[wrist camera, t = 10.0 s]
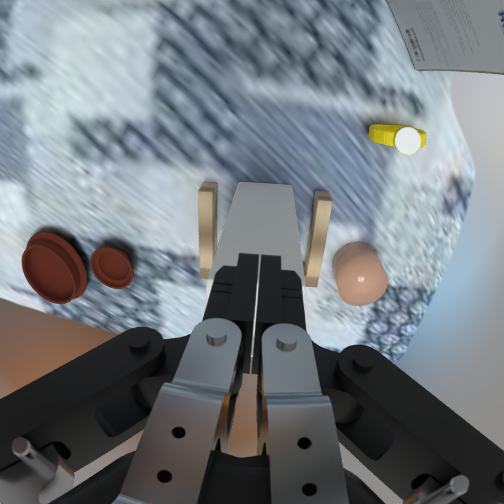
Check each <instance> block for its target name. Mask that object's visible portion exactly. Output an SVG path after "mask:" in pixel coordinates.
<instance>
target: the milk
mask: <svg viewBox="0 0 504 504" xmlns="http://www.w3.org/2000/svg"><path fill="white" fill-rule="evenodd" d="M239 253H249V254H259V266H258V280H257V294H256V306H255V317H254V328H253V339H252V351H251V357H253V349H254V336H255V323H256V311H257V299H258V287H259V274H260V262H261V254H264V255H277V256H281V270H294V271H295V272H296V273H297V274H298V276H299V277H300V278H301V281H302V291H303V301H305V289H306V287H305V278H304V270H303V261H302V254H301V246H300V238H299V231H298V223H297V216H296V209H295V202H294V195H293V188H292V185H285V184H271V183H255V182H239V183H238V185H237V188H236V191H235V194H234V197H233V200H232V204H231V207H230V210H229V213H228V216H227V219H226V222H225V225H224V228H223V231H222V234H221V237H220V241H219V244H218V247H217V250H216V253H215V256H214V260H213V263H212V266H211V269H210V272H209V276H208V279H207V289H206V306H207V302H208V298H209V295H210V292H211V288H212V284H213V280H214V277H215V273H216V272H217V271H218V270H219V269H220V268H221V267H222V266H223V265H226V266H237V262H238V256H239ZM205 310H206V308H205Z"/></svg>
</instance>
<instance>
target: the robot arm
mask: <svg viewBox="0 0 504 504" xmlns="http://www.w3.org/2000/svg"><path fill="white" fill-rule="evenodd" d="M258 266H259V254H249V253H239V256H238V262H237V266H226V265H223V266H222V267H221V268H220V269H219V270H218V271H217V272H216V273H215V277H214V280H213V284H212V288H211V292H210V295H209V298H208V302H207V306H206V310H205V313H204V317H203V321H202V322H200V323H199V324H197V325H196V326H195V327H194V329H193V331H192V333H191V334H189V335H187V336H183V337H179V338H172V339H163V337H162V336H161V334H160V333H159V332H157V331H156V330H154V329H152V328H148V327H135V328H132V329H129V330H127V331H125V332H123V333H121V334H119V335H118V336H116V337H114V338H112V339H110V340H109V341H107V342H105V343H103V344H101V345H99V346H97V347H96V348H94V349H92V350H90V351H88V352H86V353H85V354H83V355H81V356H79V357H77V358H75V359H74V360H72V361H70V362H68V363H66V364H65V365H63V366H61V367H59V368H57V369H55V370H53V371H52V372H50V373H48V374H46V375H44V376H42V377H40V378H39V379H37V380H35V381H33V382H31V383H30V384H27V385H26V386H24V387H22V388H20V389H18V390H16V391H14V392H13V393H11V394H9V395H7V396H5V397H3V398H1V399H0V502H1V504H385V503H384V502H383V501H382V500H381V499H380V498H379V497H378V496H377V495H376V494H375V493H374V492H373V491H372V490H371V489H370V488H369V487H368V486H367V485H366V484H365V483H364V482H363V481H362V480H361V479H359V478H358V477H357V476H356V475H354V474H353V473H352V472H350V471H348V470H346V469H345V468H343V464H342V458H341V452H340V447H339V442H340V443H341V444H342V445H343V446H344V447H345V448H346V449H347V450H349V451H350V452H351V453H352V454H353V455H354V456H355V457H356V458H357V459H358V460H359V461H360V462H361V463H362V464H363V465H365V466H366V467H367V468H368V469H369V470H370V471H371V472H372V473H373V474H374V475H375V476H376V477H378V478H379V479H380V480H381V481H382V482H383V483H384V484H385V485H386V486H388V487H389V488H390V489H391V490H392V491H393V492H394V493H395V494H397V495H398V496H399V497H400V498H401V499H402V500H403V504H504V451H503V450H502V449H500V448H499V447H498V446H497V445H495V444H494V443H493V442H492V441H490V440H489V439H488V438H487V437H485V436H484V435H483V434H481V433H480V432H479V431H478V430H476V429H475V428H474V427H473V426H471V425H470V424H469V423H468V422H466V421H465V420H464V419H463V418H461V417H460V416H459V415H458V414H456V413H455V412H454V411H453V410H451V409H450V408H449V407H447V406H446V405H445V404H444V403H442V402H441V401H440V400H439V399H437V398H436V397H435V396H434V395H432V394H431V393H430V392H429V391H427V390H426V389H425V388H424V387H422V386H421V385H420V384H418V383H417V382H416V381H415V380H413V379H412V378H411V377H410V376H408V375H407V374H406V373H405V372H403V371H402V370H400V368H398V367H397V366H396V365H395V364H393V363H392V362H391V361H390V360H388V359H387V358H386V357H384V356H383V355H382V354H381V353H379V352H378V351H377V350H375V349H373V348H371V347H369V346H365V345H351V346H348V347H346V348H345V349H344V350H342V352H341V353H338V352H335V351H331V350H328V349H325V348H322V347H320V346H319V345H317V344H316V343H314V342H313V341H312V340H311V338H310V336H309V334H308V333H307V331H306V323H305V312H304V301H303V291H302V281H301V278H300V277H299V276H298V274H297V273H296V272H295V271H294V270H281V256H277V255H264V254H261V262H260V274H259V287H258V299H257V311H256V323H255V336H254V349H253V361H252V374H258V377H257V378H258V379H257V390H256V422H257V455H256V456H252V457H246V458H245V457H244V458H240V457H235V456H232V455H229V454H227V453H228V444H229V439H230V434H231V430H232V425H233V421H234V416H235V411H236V407H237V402H238V397H239V390H240V388H241V385H242V377H243V373H247V374H249V372H250V361H251V351H252V339H253V328H254V317H255V306H256V294H257V280H258ZM143 429H144V431H143V434H142V436H141V439H140V441H139V444H138V446H137V449H136V451H134V452H131V453H128V454H126V455H124V456H122V457H120V458H118V459H117V460H115V461H114V462H112V463H111V464H109V465H108V466H106V467H105V468H103V469H102V470H100V471H99V472H97V473H96V474H94V475H93V476H91V477H90V478H88V479H87V480H85V481H84V482H82V483H81V484H79V485H77V486H76V487H74V488H73V483H74V472H76V471H77V470H79V469H81V468H82V467H84V466H86V465H88V464H89V463H91V462H92V461H94V460H96V459H97V458H99V457H101V456H102V455H104V454H105V453H107V452H109V451H110V450H112V449H114V448H115V447H117V446H118V445H120V444H122V443H123V442H125V441H126V440H128V439H129V438H131V437H132V436H134V435H135V434H137V433H138V432H140V431H142V430H143ZM72 488H73V489H72Z"/></svg>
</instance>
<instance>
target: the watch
mask: <svg viewBox="0 0 504 504" xmlns="http://www.w3.org/2000/svg"><path fill="white" fill-rule="evenodd" d="M369 139H370V140H371V141H373V142H375V143H379V144H383V145H388V146H394V147H395V148H396V149H397V150H398V151H399V152H400V153H402V154H404V155H412V154H414V153H416V152H417V151H418V149H419V148H421V147H424V146H425V143H426V132H424V131H422V130H420V129H417V128H413V127H409V126H402V125H385V124H374V125H371V126H370V127H369Z"/></svg>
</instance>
